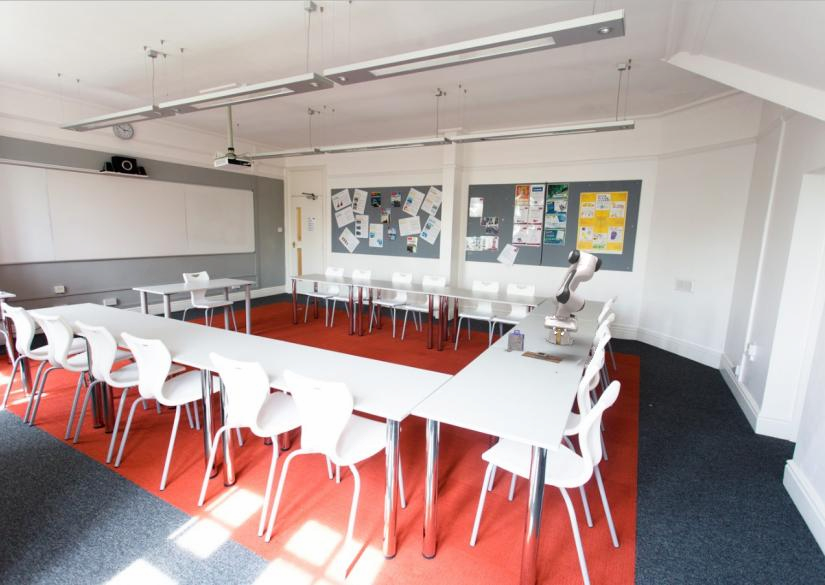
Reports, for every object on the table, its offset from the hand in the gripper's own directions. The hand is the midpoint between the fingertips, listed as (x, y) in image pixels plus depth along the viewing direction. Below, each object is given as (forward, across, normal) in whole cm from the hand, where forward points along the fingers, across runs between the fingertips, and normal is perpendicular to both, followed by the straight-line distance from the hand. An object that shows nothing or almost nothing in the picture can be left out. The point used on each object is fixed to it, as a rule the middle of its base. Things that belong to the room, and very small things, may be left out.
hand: (558, 335), depth 248 cm
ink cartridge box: (+7, -29, +18) cm, 34 cm away
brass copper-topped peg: (+4, 0, +5) cm, 6 cm away
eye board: (+11, -9, +13) cm, 20 cm away
